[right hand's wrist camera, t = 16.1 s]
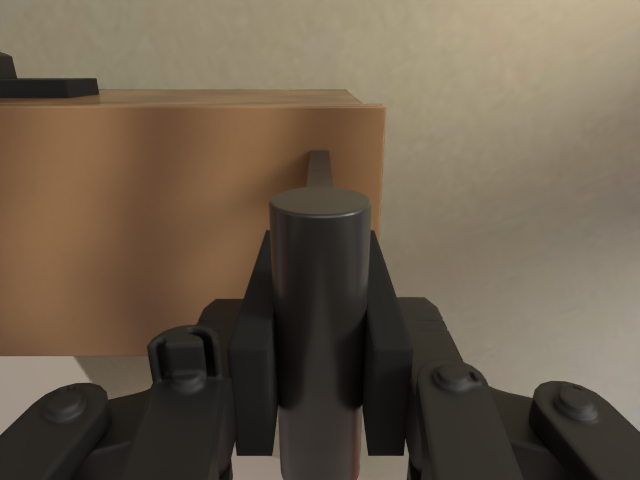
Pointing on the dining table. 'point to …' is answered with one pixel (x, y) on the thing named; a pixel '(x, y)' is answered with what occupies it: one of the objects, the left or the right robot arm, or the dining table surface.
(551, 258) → the dining table surface
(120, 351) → the lid
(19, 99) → the chest
